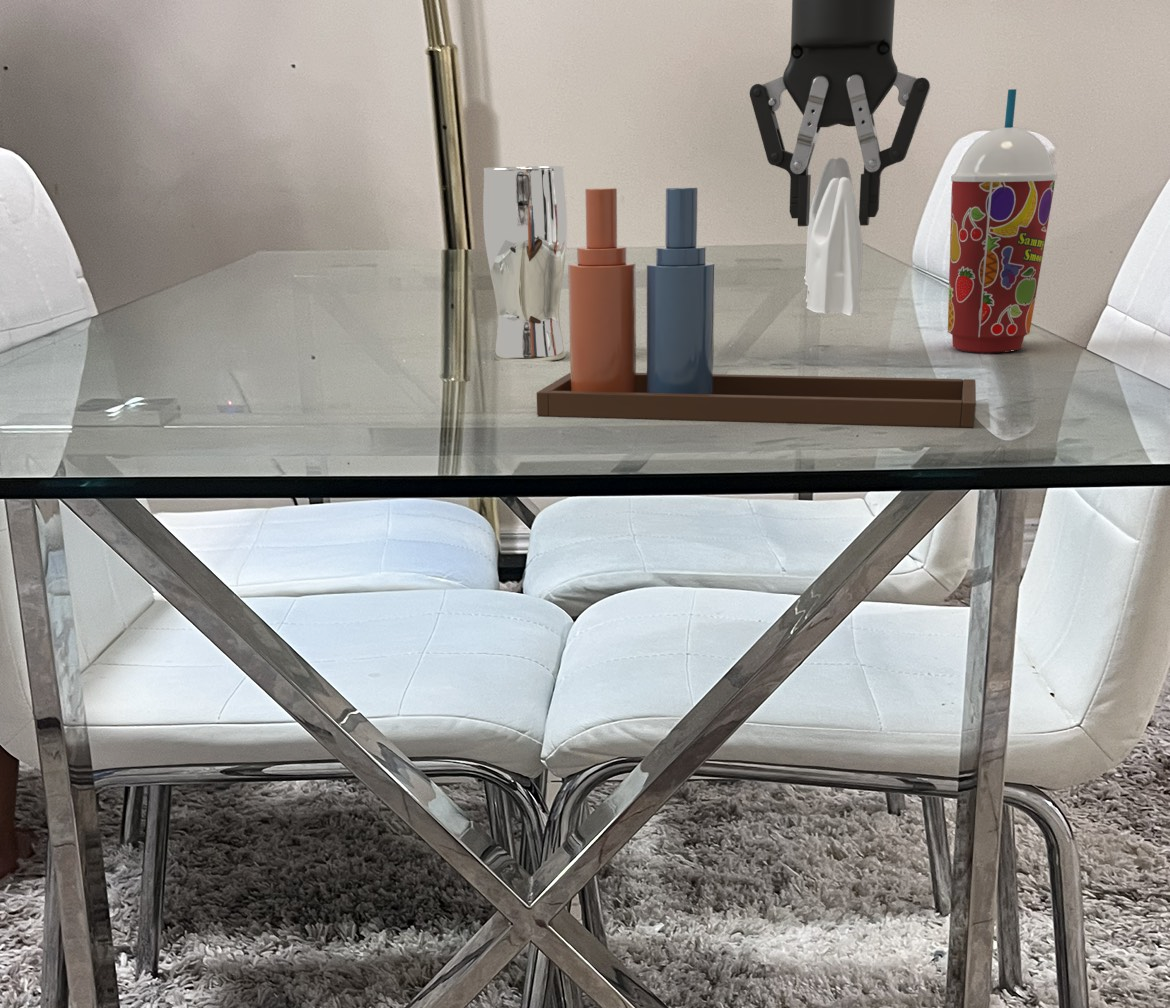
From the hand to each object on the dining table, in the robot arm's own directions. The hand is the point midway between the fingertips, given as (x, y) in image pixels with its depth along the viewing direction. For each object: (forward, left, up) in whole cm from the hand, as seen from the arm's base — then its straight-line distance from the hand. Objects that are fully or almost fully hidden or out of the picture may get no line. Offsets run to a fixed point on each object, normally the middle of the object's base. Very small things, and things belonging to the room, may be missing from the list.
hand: (833, 224), depth 110 cm
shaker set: (0, 0, -6) cm, 6 cm away
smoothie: (-13, -10, -11) cm, 19 cm away
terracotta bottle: (+13, +26, -10) cm, 30 cm away
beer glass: (+25, 0, -11) cm, 27 cm away
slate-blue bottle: (+7, +26, -10) cm, 28 cm away
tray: (+2, +26, -11) cm, 28 cm away
